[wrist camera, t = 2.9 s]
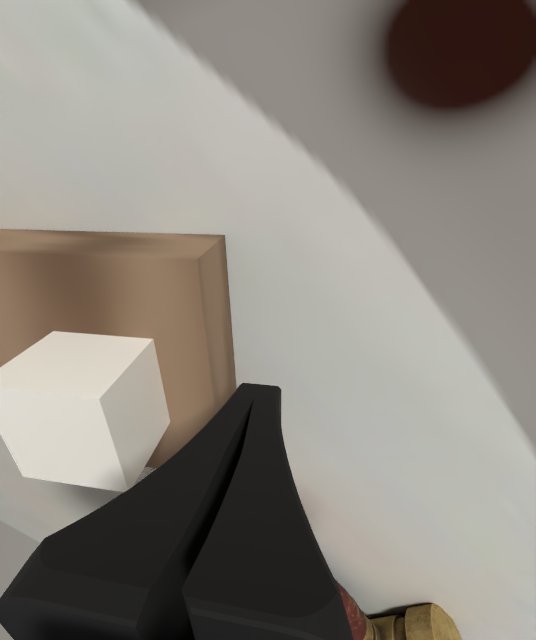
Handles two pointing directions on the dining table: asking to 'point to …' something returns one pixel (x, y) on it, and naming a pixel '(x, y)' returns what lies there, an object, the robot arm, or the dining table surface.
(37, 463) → the tile block
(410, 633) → the gavel
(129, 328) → the board
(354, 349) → the dining table surface
